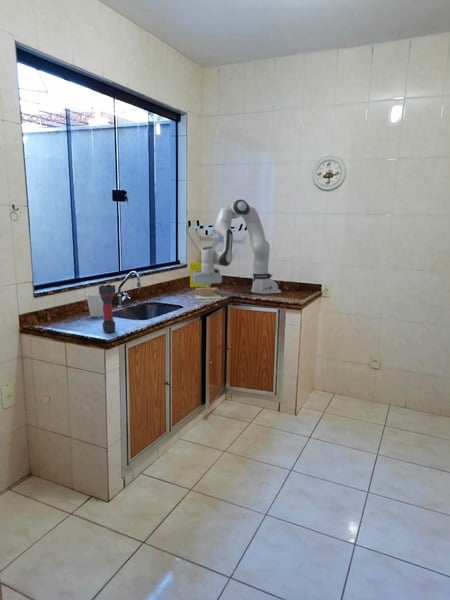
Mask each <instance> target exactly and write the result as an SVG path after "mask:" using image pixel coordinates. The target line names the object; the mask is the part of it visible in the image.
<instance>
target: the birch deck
mask: <svg viewBox="0 0 450 600" xmlns="http://www.w3.org/2000/svg"><path fill="white" fill-rule="evenodd" d="M200 288H201V287H194V289H195V290H194V291H195V295H200ZM213 295H220V294H219V289H218V287H213Z"/></svg>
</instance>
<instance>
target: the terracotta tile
mask: <svg viewBox="0 0 450 600" xmlns="http://www.w3.org/2000/svg"><path fill="white" fill-rule="evenodd" d="M199 288H200V296H213V288H214V287H212V286H211V287H208V288H206V287H199Z"/></svg>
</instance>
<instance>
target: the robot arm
mask: <svg viewBox="0 0 450 600" xmlns="http://www.w3.org/2000/svg"><path fill="white" fill-rule="evenodd" d="M240 217H241V218H242V219H243V221H244V223H245V226H246V229H247V232H248V235H249V241H250V246H251V250H252V252H253V253H254V256H253V273H252V287H251V290H250V291H251V293H255V294H260V295H267V294H268V295H270V294H280V293H282V290H281V289H279V286H278V285H279V284H278V283H277V282H276V281H274V280H273V279H272V277H273V274H271V273H269V262H270V261H269V260H270V251H271V250H270V249H271V248H270V242H268V241H267V240H266V237H265V231H264V228H263V224H262V221H261V219H260V216H259V213H258V211H257V210H256V208H255V207H254V206H250V204H248V202H247V201H246V200H244V199H237V200H236V201H235V200H234V202H232V203H231V204H230V205H229V206H228V207H225V206H224V207H221V208H220V209H219V210H218V213H217V215H216V220H215V224H214V229H215V231H216V233H217V234H218V235H220V236H221V237H223V240H224V242H223V250H222V251H219V250H215V249H214V248H213V247H212V246H205V247H202V248H201V255H200V258H201V259H200V261H201V263H202V265H201V270H198V271H197V270H196V271H194V272H193V276H194V279H193V282H194V283H195V284H203V283H204V285H205V287H204V288H208V287H206V283H209V287H212V284H222V282H223V278H222V277H223V275H222V274H221V269H219V268H217V267H215V265H216V266H224V267H228V266H230V264H231V263H232V261H233V256H232V255H233V253H232V252H233V251H232V249H233V236H234V233H233V230H231V227H232V226H231V225H232V221H233V219H238V218H240Z"/></svg>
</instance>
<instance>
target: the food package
mask: <svg viewBox="0 0 450 600" xmlns="http://www.w3.org/2000/svg"><path fill="white" fill-rule="evenodd" d="M201 265H202V262H189V287H190V288H206V287H209V283H206V287H205V285H204V283H203V284H195V283H194V282H193V279H194V276H193V272H194V271H196V270H197V271H198V270H201Z"/></svg>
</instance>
